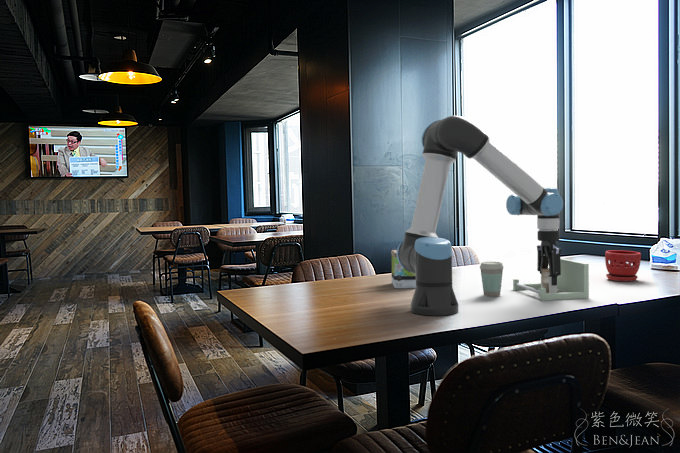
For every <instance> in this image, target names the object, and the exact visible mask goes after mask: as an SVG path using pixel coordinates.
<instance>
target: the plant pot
mask: <svg viewBox="0 0 680 453" xmlns="http://www.w3.org/2000/svg"><path fill="white" fill-rule="evenodd" d="M604 255H605V256H604V262H605V268H606V271H607V273H606V275H605V276H606V278H607V279H608V280H610V281H615V282H634V281H636V280H637V279H638V278H639V277H638V275H637V273H638V272H639V270H640V266H641V260H642V253H641V252H638V251H633V250H617V249H616V250H615V249H614V250H612V249H611V250H606V251H605V254H604Z"/></svg>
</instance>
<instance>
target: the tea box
mask: <svg viewBox="0 0 680 453" xmlns="http://www.w3.org/2000/svg"><path fill="white" fill-rule="evenodd" d="M390 253H391V254H390V260H391V262H390V263H391V284H392V286H393V287H394V289H416V273H411V272H409V271H407V270H405V269H404V268H403V267H402V266H401V265H400V264H399V262H398V259H397V249H391V252H390Z"/></svg>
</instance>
